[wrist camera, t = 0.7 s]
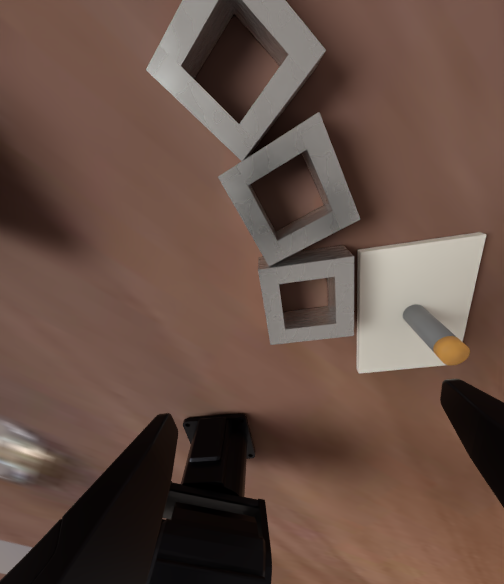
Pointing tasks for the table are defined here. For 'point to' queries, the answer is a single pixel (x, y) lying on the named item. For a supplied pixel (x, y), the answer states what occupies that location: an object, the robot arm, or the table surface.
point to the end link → (311, 321)
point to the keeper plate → (415, 302)
